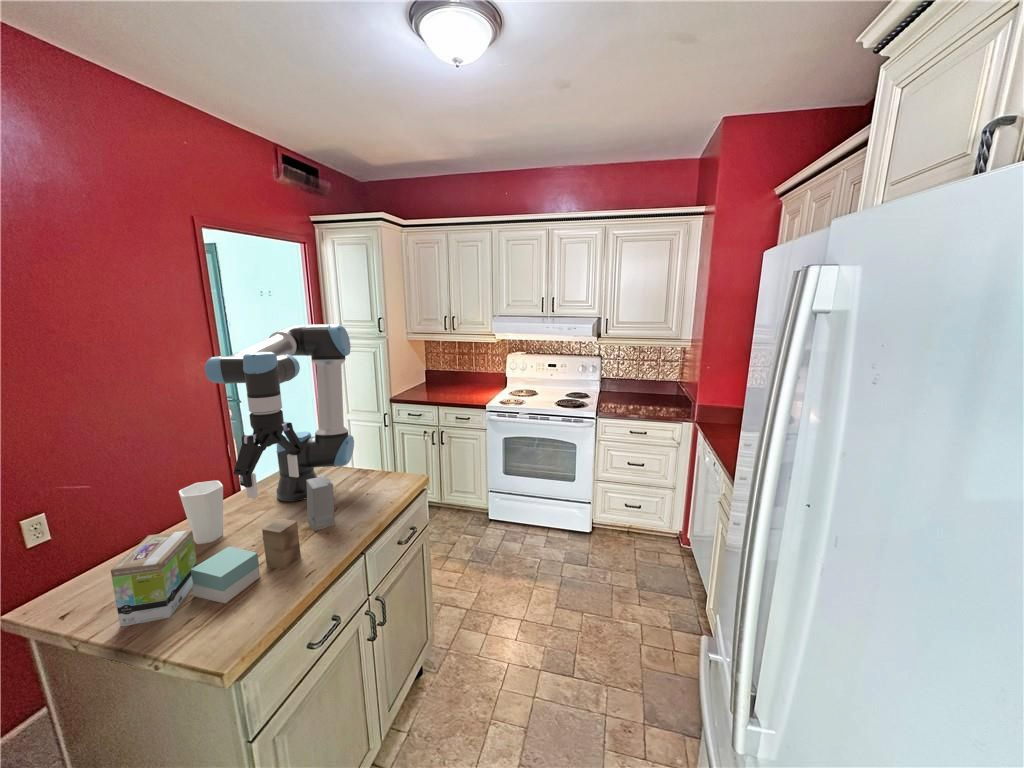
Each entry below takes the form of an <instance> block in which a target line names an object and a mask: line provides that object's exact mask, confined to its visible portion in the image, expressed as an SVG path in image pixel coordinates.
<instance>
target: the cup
mask: <svg viewBox="0 0 1024 768" xmlns="http://www.w3.org/2000/svg"><path fill="white" fill-rule="evenodd" d="M178 494H179V497H180V500H181V503H182V507H183V510H184V513H185V516H186V519H187V522H188V525H189V528H190V530H192V533H193V538H194V543H195V544H196V545H203V544H209V543H210V544H211V543H212V542H213V543H214V541H216V540H218V539H219V538H221V537H222V536H224V485H223V484H222V482H221V481H220V480H210V481H209V480H208V481H201V482H199V481H198V482H195V483H192V484H191V485H188V486H186V487H183V488H181V489H180V490H178Z"/></svg>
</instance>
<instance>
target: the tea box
mask: <svg viewBox="0 0 1024 768" xmlns="http://www.w3.org/2000/svg"><path fill="white" fill-rule="evenodd" d="M196 553H197V552H196V547H195V541H194V538H193V533H192V530H191V529H190V530H181V531H173V532H166V533H165V532H164V533H156V534H148V535H147V536H146V537H145V538H144V539H143V540H141V542H140V543H139V544H138V545H137V546H135V547H134V548H133V549H132V550H131V551H130V552H129V553H128V554H126V555H125V557H123V558H122V559H121V560H120V561H119V562H117V563H116V565H115V566H114V567H113V568H111V569H110V575H111V581H112V586H113V587H112V588H113V592H114V593H113V594H114V597H115V599H114V600H115V605H116V608H117V609H116V610H117V616H118V621H119V627H120V628H121V626H122V627H127V626H133V625H137V624H143V623H150V622H152V621H153V622H154V621H157V620H165V619H169V618H170V617H171V616H172V615H173V614H174V613H175V611H176V610H177V608H178V607H179V606H180V605H181V603H182V602H183V601H184V600H185V598H186V596H187V595H188V593H190V591H191V590H192V589H193V588H192V585H193V581H192V575H191V569H192V568H194V567H195V566H197V565H198V561H197V555H196Z"/></svg>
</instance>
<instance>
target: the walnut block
mask: <svg viewBox="0 0 1024 768" xmlns="http://www.w3.org/2000/svg"><path fill="white" fill-rule="evenodd" d="M261 532H262V540H263V546H264V547H263V548H264V554H265V556H264V557H265V562H266V567H268V568H271V569H278V570H283V571H285V570H287V569H288V568H289V567H290V566H291V565H292V564H294V563H295V562H296V561H298V560H299V559H300V558H301V557H302V556H301V555H302V554H301V546H300V538H299V537H300V536H299V528H298V521H297V520H292V519H288V518H287V519H286V518H278V519H276V520H274V521H273V522H272V523H270V524H268V525H267V526H265V527H264V528H262V529H261Z"/></svg>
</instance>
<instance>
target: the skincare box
mask: <svg viewBox="0 0 1024 768" xmlns="http://www.w3.org/2000/svg"><path fill="white" fill-rule="evenodd" d="M306 483H307V498H306V503H307V505H306V507H307V508H306V509H307V523H308V525H309V524H310V525H309V526H311V527H312V528H311V527H310V528H311V529H312V531H314V532H317V530H318V531H321V530H323V529H322V528H324V529H326V528H325V527H327V528H329V527H332V526H334V525H335V504H334V500H335V499H334V484H333V482H332V481H331V479H330V478H329V477H328V476H327V475H323V476H317V478H312V479H308V480H306ZM333 524H334V525H333ZM331 525H332V526H331ZM328 526H329V527H328ZM320 529H321V530H320Z"/></svg>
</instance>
